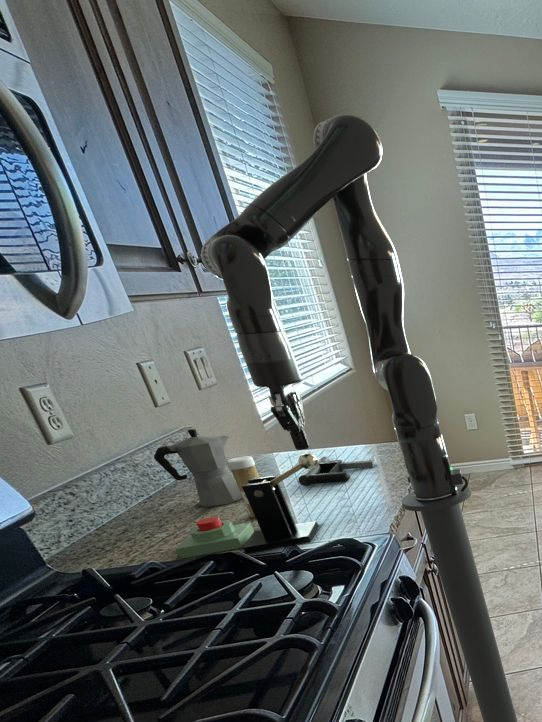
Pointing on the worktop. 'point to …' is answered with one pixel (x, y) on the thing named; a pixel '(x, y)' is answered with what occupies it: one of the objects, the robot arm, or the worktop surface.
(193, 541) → the button box
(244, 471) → the sprinkles bottle
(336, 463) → the black handled frame
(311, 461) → the switch lever
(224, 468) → the coffeepot
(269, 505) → the switch bracket
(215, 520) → the red button
